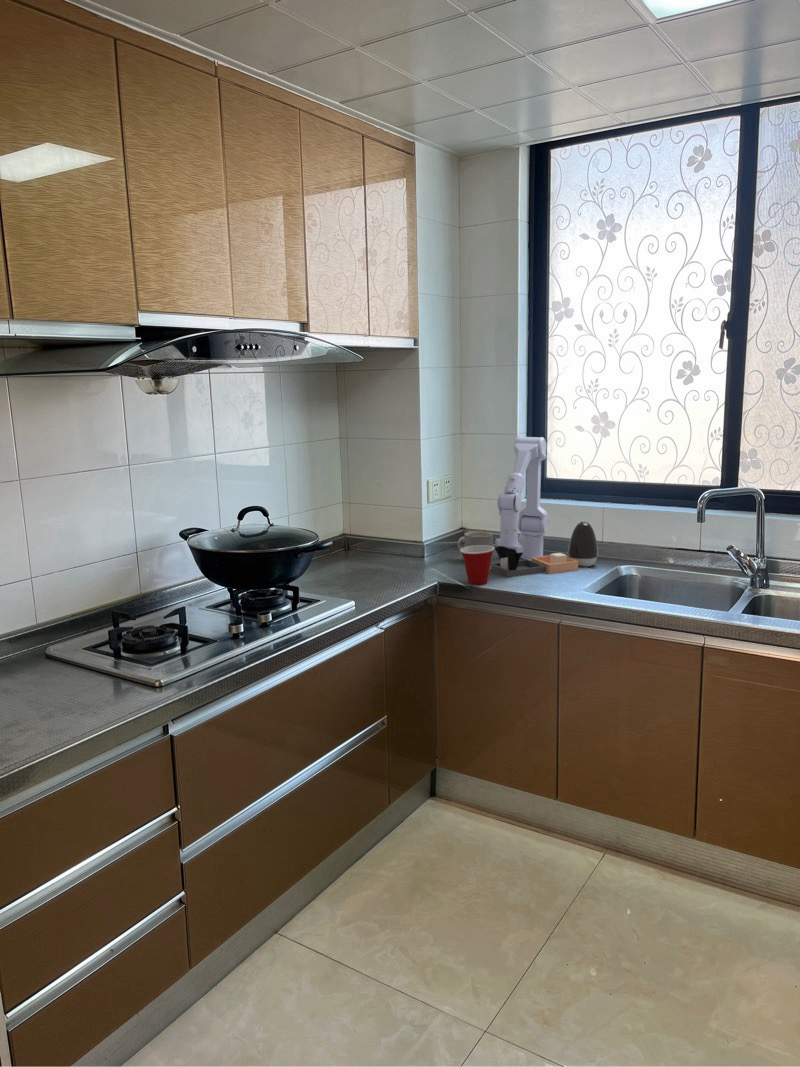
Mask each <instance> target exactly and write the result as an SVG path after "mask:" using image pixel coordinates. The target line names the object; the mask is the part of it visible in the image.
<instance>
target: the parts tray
mask: <svg viewBox="0 0 800 1067" xmlns="http://www.w3.org/2000/svg"><path fill="white" fill-rule="evenodd" d="M490 570H491V571H493V572H495V573H497V574H499V575H502V576H504V577H507V578H512V577H520V576H527V575H528V576H529V575H537V574H542V573H543V574H545V573H546V572H545V566H543V565H540V564H538V563H535V562H533V561H531V560H528V559H519V562H518V565H517V570H509V571H508V570H506V569H504V568H501V567H500V562H494V563H491V565H490Z"/></svg>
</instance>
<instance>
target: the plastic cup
mask: <svg viewBox="0 0 800 1067" xmlns="http://www.w3.org/2000/svg"><path fill="white" fill-rule="evenodd" d="M494 550H495V546H494V545H493V546H490V545H474V546H468V547H463V548H462V549H460V551H461V552H462V553H461V552H460V551H459V552H460V553H461V555H462V556H463V561H464V567H465V571H466V576H467V577H466V578H467V583H468V584H469V585H472V586H483V585H487V583H488V580H489V575H490V570H491V564H492V562H491V559H492V554H494Z"/></svg>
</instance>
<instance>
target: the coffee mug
mask: <svg viewBox="0 0 800 1067" xmlns="http://www.w3.org/2000/svg"><path fill="white" fill-rule="evenodd" d="M493 536H494V534H493V532H491V531H482V530H481V531H480V530H475V531H467V532H465V533H464V535H463V536H461V537H459V539H458V540H457V549H458V550H459V552H460V553H461V554H462V552H461V551H460V549H462V548H464V547H468V546H474V545H490V546H494V543H493V542H494V539H493V538H494V537H493ZM463 544H464V545H463ZM463 546H464V547H463ZM493 554H494V553H493ZM493 554H492V559H491V563H492V562H493V560H494V559H493V558H494V555H493Z"/></svg>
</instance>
